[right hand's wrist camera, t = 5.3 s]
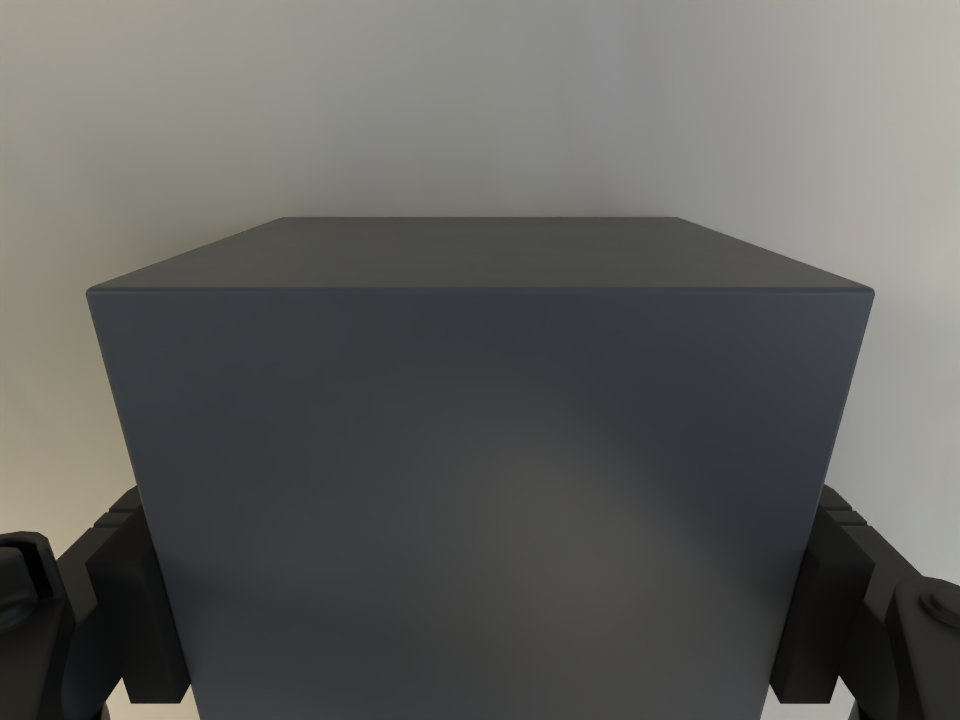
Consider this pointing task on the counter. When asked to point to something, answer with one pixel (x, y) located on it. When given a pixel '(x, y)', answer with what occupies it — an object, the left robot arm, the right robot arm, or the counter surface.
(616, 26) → the counter surface
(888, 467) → the counter surface
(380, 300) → the thick board
